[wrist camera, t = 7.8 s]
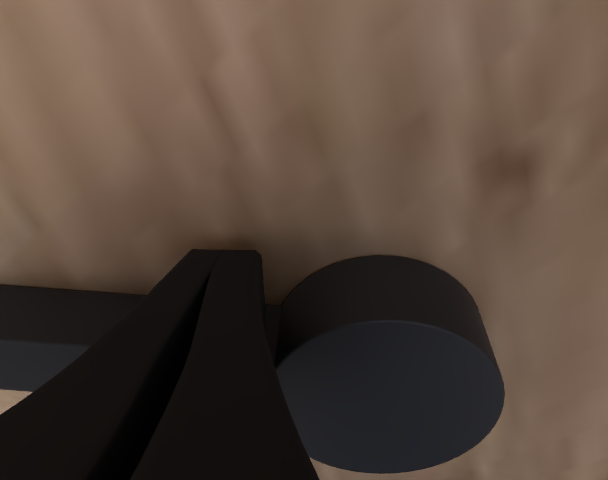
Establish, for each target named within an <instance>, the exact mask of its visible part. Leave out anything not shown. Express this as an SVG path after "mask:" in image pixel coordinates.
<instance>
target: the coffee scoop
mask: <svg viewBox="0 0 608 480" xmlns="http://www.w3.org/2000/svg"><path fill="white" fill-rule="evenodd" d="M144 297H145V296H141V295H128V294H114V293H101V292H87V291H74V290H60V289H47V288H33V287H20V286H6V285H0V389H3V390H16V391H29V392H34V391H35V390H37V389H38V388H39V387H41V386H42V385H43V384H45V383H46V382H47V381H49V380H50V379H51V378H53V377H54V376H55V375H57V374H58V373H59V372H61V371H62V370H63V369H64V368H66V367H67V366H68V365H70V364H71V363H72V362H73V361H75V360H76V359H77V358H78V357H79V356H81V355H82V354H83V353H84V352H85V351H86V350H88V349H89V348H90V347H91V346H92V345H93V344H94V343H96V342H97V341H98V340H99V339H100V338H101V337H102V336H103V335H105V334H106V333H107V332H108V331H109V330H110V329H111V328H113V327H114V326H115V325H116V324H117V323H118V322H119V321H120V320H121V319H122V318H123V317H124V316H125V315H126V314H128V313H129V312H130V311H131V310H132V309H133V308H134V307H135V306H136V305H137V304H138V303H139V302H140V301H141V300H142V299H143V298H144ZM265 309H266V321H267V329H266V338H267V342H268V346H269V349H270V353H271V357H272V360H273V364H274V367H275V370H276V373H277V377H278V380H279V383H280V386H281V389H282V391H283V394H284V397H285V400H286V403H287V405H288V408H289V411H290V413H291V416H292V418H293V421H294V423H295V426H296V428H297V431H298V433H299V436H300V438H301V441H302V443H303V445H304V447H305V449H306V451H307V454H308V456H309V457H310V458H312V459H314V460H317V461H319V462H321V463H324V464H327V465H329V466H333V467H337V468H340V469H345V470H350V471H355V472H363V473H379V474H385V473H401V472H410V471H415V470H421V469H425V468H429V467H432V466H436V465H439V464H442V463H444V462H447V461H449V460H452V459H454V458H456V457H458V456H460V455H462V454H463V453H465V452H467V451H468V450H470V449H471V448H473V447H474V446H475V445H477V444H478V443H479V442H481V441H482V440H483V439H484V438H485V437H486V436H487V435H488V434H489V432H490V431H491V430H492V428H493V427H494V426H495V424H496V422H497V421H498V419H499V417H500V415H501V411H502V408H503V405H504V396H505V391H504V383H503V380H502V376H501V373H500V370H499V367H498V365H497V362H496V359H495V356H494V353H493V350H492V347H491V345H490V342H489V339H488V336H487V333H486V330H485V327H484V325H483V322H482V319H481V316H480V313H479V310H478V307H477V305H476V303H475V302H474V300H473V298H472V296H471V295H470V294H469V292H468V291H467V290H466V289H465V288H464V287H463V286H462V285H461V284H460V283H459V282H458V281H457V280H456V279H454V278H453V277H451V276H450V275H449V274H447V273H446V272H444V271H442V270H440V269H438V268H436V267H434V266H432V265H429V264H426V263H424V262H421V261H417V260H413V259H409V258H403V257H395V256H368V257H359V258H354V259H349V260H345V261H342V262H339V263H335V264H333V265H330V266H328V267H326V268H323V269H321V270H319V271H318V272H316V273H314V274H313V275H311V276H309V277H308V278H307V279H305V280H304V281H303V282H301V283H300V284H299V285H298V286H297V287H296V288H295V289H294V290H293V291H292V292H291V293H290V294H289V296H288V297H287V299H286V300H285V301H284V303H283V305H282V306H276V305H265Z"/></svg>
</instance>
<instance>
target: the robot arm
mask: <svg viewBox="0 0 608 480" xmlns="http://www.w3.org/2000/svg"><path fill="white" fill-rule="evenodd" d="M266 329H267V321H266V309H265V296H264V283H263V270H262V258H261V255H260V254H259V253H258V252H257V251H256V250H205V249H192V250H191V251H190V252H189V253H188V254H187V255H186V256H185V257H184V258H183V259H182V260H181V261H180V262H179V263H178V264H177V265H176V266H175V267H174V268H173V269H172V270H171V271H170V272H169V273H168V274H167V275H166V276H165V277H164V278H163V279H162V280H161V281H160V282H159V283H158V284H157V285H156V286H155V287H154V288H153V289H152V290H151V291H150V292H149V293H148V294H147V295H146V296H145V297H144V298H143V299H142V300H141V301H140V302H139V303H138V304H137V305H136V306H135V307H134V308H133V309H132V310H131V311H130V312H129V313H128V314H126V315H125V316H124V317H123V318H122V319H121V320H120V321H119V322H118V323H117V324H116V325H115V326H114V327H113V328H111V329H110V330H109V331H108V332H107V333H106V334H105V335H103V336H102V337H101V338H100V339H99V340H98V341H97V342H96V343H94V344H93V345H92V346H91V347H90V348H89V349H88V350H86V351H85V352H84V353H83V354H82V355H81V356H79V357H78V358H77V359H76V360H75V361H73V362H72V363H71V364H70V365H68V366H67V367H66V368H64V369H63V370H62V371H61V372H59V373H58V374H57V375H55V376H54V377H53V378H51V379H50V380H49V381H47V382H46V383H45V384H43V385H42V386H41V387H39V388H38V389H37V390H35V391H34V392H33V393H31V394H30V395H29V396H27V397H26V398H24V399H23V400H22V401H20V402H19V403H17V404H16V405H14V406H13V407H11V408H10V409H8V410H7V411H5V412H4V413H2V414H1V415H0V480H319V478H318V475H317V473H316V471H315V469H314V467H313V465H312V462H311V460H310V458H309V456H308V454H307V451H306V449H305V447H304V445H303V443H302V441H301V438H300V436H299V433H298V431H297V428H296V426H295V423H294V421H293V418H292V416H291V413H290V411H289V408H288V405H287V403H286V400H285V397H284V394H283V391H282V389H281V386H280V383H279V380H278V377H277V373H276V370H275V367H274V364H273V360H272V357H271V353H270V349H269V346H268V342H267V338H266Z"/></svg>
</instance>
